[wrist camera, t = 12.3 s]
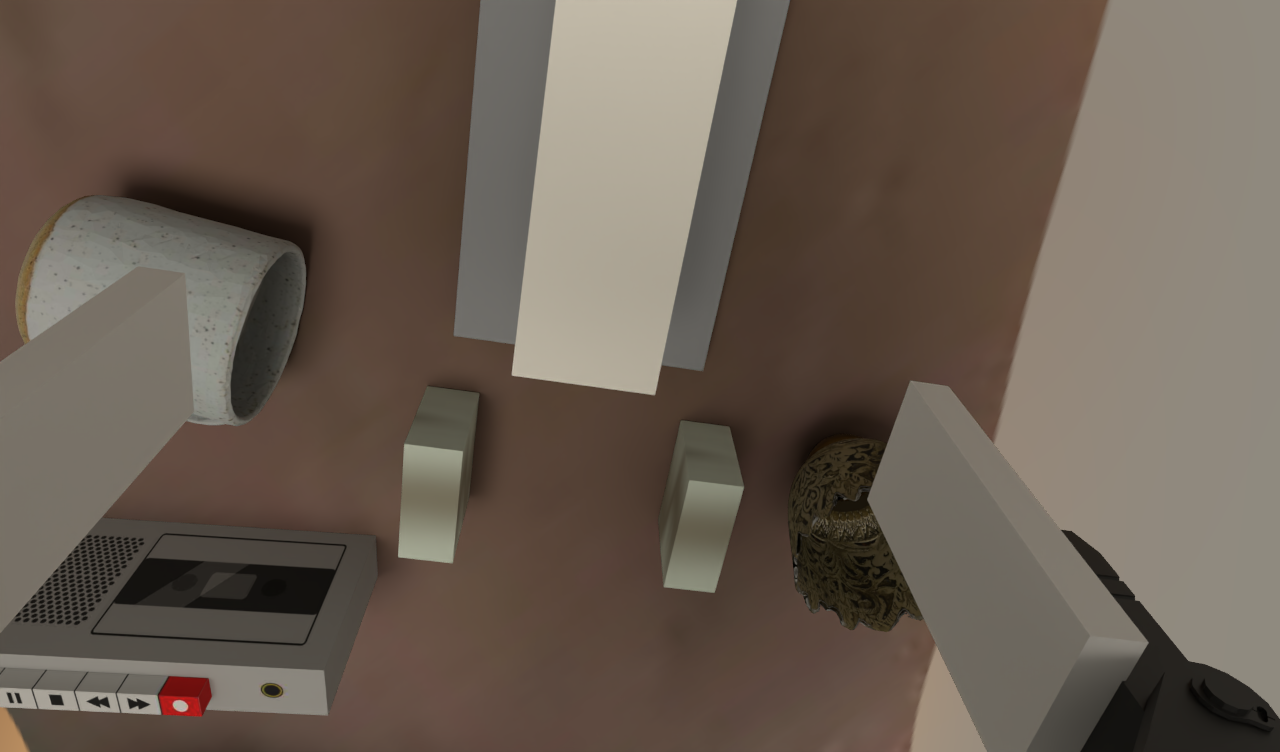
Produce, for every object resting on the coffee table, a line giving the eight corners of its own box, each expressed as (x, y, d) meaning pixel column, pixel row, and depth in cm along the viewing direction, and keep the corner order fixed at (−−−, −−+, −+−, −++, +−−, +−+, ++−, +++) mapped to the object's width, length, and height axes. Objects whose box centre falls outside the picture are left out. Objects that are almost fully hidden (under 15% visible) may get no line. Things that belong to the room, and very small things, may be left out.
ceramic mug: (110, 161, 34) (-15, 223, 27) (317, 217, 35) (247, 289, 29) (108, 382, 39) (1, 481, 32) (290, 424, 40) (225, 527, 33)
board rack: (703, 525, 44) (714, 592, 39) (420, 491, 42) (398, 556, 38) (729, 426, 41) (744, 487, 36) (427, 386, 39) (404, 443, 35)
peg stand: (699, 356, 39) (716, 436, 33) (459, 321, 38) (429, 398, 32) (823, -179, 29) (880, -208, 23) (506, -247, 28) (477, -297, 22)
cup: (945, 439, 42) (1014, 543, 34) (849, 540, 44) (895, 656, 37) (827, 367, 39) (874, 462, 32) (734, 478, 42) (759, 588, 35)
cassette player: (376, 534, 43) (316, 689, 34) (378, 575, 45) (321, 734, 36) (56, 513, 42) (-91, 669, 33) (67, 556, 43) (-72, 717, 34)
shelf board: (578, -162, 24) (575, -169, 22) (752, -126, 24) (764, -130, 22) (517, 349, 31) (511, 375, 29) (652, 368, 31) (654, 395, 30)
